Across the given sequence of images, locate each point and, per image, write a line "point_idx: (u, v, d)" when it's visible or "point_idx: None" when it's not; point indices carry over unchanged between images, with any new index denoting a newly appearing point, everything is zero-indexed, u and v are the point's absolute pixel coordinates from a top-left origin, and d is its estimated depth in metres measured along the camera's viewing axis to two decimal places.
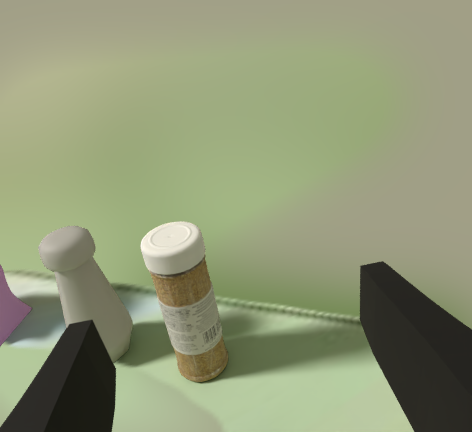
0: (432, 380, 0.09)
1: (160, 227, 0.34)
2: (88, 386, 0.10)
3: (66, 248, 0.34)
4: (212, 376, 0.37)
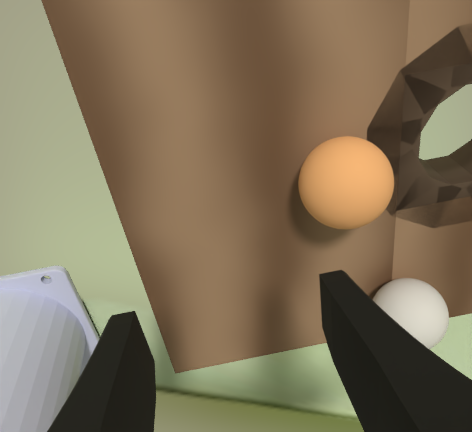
0: (378, 391, 0.09)
1: None
2: (134, 377, 0.10)
3: None
4: None
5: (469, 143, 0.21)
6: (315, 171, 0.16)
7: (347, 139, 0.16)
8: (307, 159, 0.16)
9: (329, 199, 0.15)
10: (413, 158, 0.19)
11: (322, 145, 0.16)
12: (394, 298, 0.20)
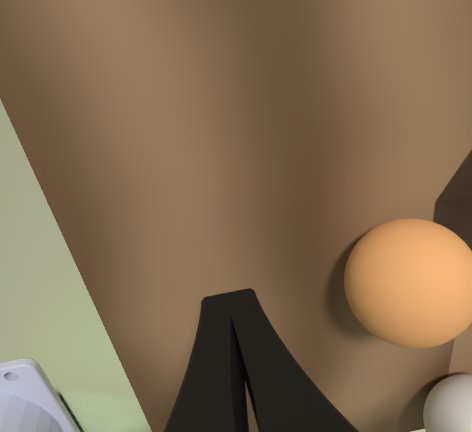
0: None
1: None
2: (236, 356, 0.10)
3: None
4: None
5: None
6: (375, 275, 0.11)
7: (419, 228, 0.11)
8: (359, 251, 0.12)
9: (396, 317, 0.11)
10: None
11: (381, 234, 0.12)
12: (460, 410, 0.16)
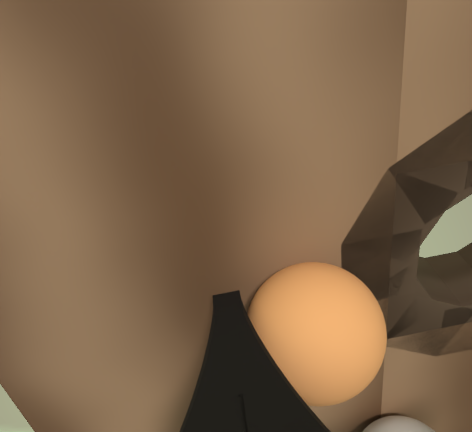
0: None
1: None
2: None
3: None
4: None
5: None
6: (270, 333, 0.10)
7: (315, 276, 0.10)
8: (256, 304, 0.11)
9: (294, 379, 0.10)
10: (409, 278, 0.13)
11: (277, 284, 0.11)
12: None
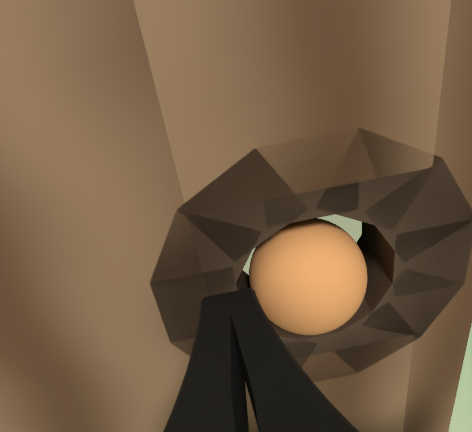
0: None
1: None
2: (236, 356, 0.10)
3: None
4: None
5: None
6: None
7: (300, 242, 0.12)
8: (317, 218, 0.13)
9: None
10: None
11: (313, 223, 0.13)
12: None
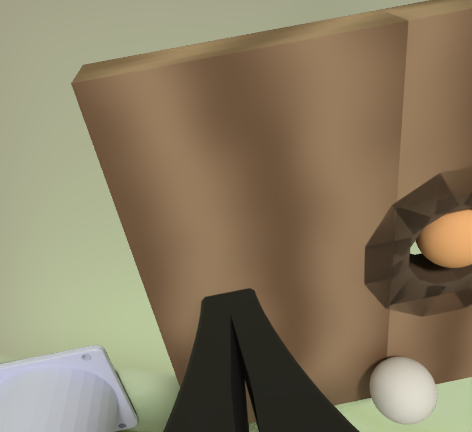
0: None
1: None
2: (236, 356, 0.10)
3: None
4: None
5: None
6: None
7: None
8: None
9: None
10: (404, 266, 0.22)
11: None
12: (390, 379, 0.23)
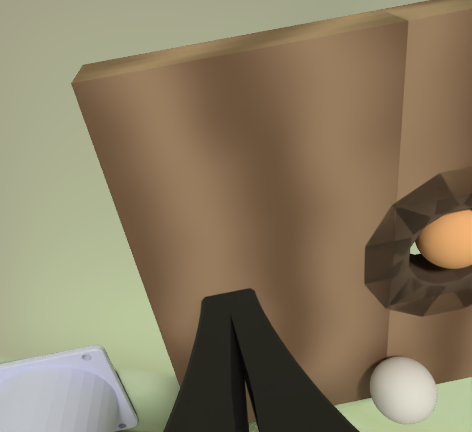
0: None
1: None
2: (236, 356, 0.10)
3: None
4: None
5: None
6: None
7: None
8: None
9: None
10: (404, 266, 0.22)
11: None
12: (391, 379, 0.23)
